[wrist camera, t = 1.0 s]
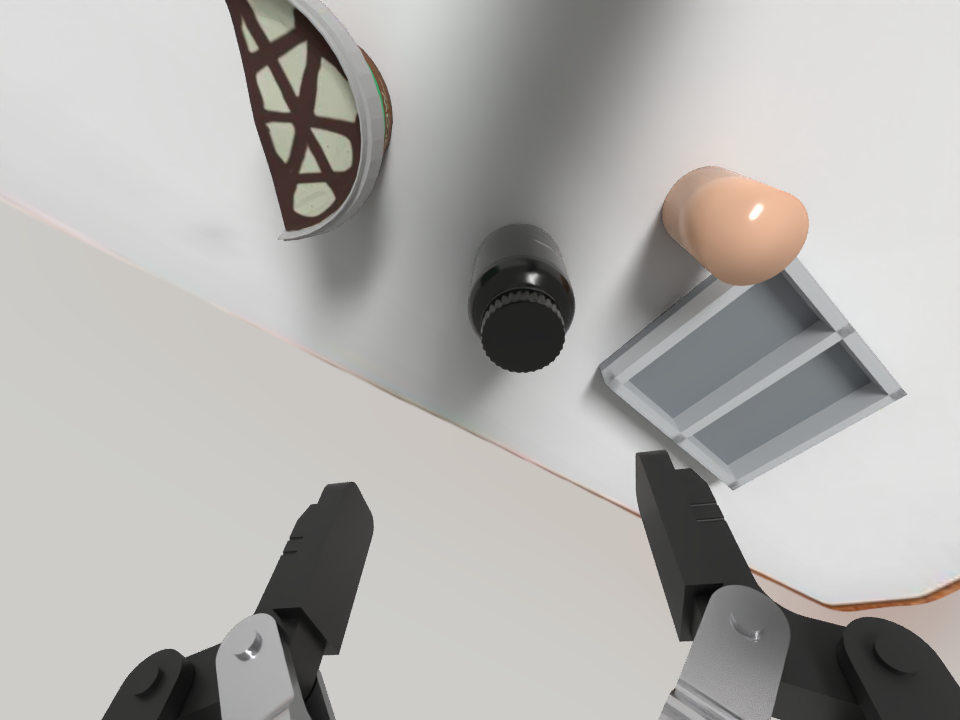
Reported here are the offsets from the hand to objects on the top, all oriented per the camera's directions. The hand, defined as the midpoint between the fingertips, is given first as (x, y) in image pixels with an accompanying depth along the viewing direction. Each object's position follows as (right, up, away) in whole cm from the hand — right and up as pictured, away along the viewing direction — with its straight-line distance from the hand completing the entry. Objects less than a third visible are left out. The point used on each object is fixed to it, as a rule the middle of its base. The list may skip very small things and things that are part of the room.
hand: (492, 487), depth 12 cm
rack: (+23, +3, +27) cm, 35 cm away
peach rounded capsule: (+16, +15, +19) cm, 29 cm away
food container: (-8, +20, +17) cm, 28 cm away
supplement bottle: (+3, +11, +22) cm, 25 cm away
